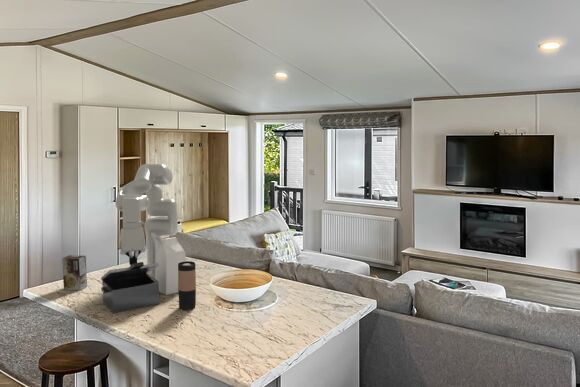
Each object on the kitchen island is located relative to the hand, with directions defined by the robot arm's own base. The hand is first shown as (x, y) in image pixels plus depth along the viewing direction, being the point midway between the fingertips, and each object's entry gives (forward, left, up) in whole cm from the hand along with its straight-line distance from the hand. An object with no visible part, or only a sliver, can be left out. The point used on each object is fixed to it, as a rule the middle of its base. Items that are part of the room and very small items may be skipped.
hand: (133, 265), depth 198 cm
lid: (0, -3, -3) cm, 4 cm away
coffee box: (+17, -42, -19) cm, 49 cm away
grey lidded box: (0, -6, -18) cm, 19 cm away
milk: (-22, -14, -19) cm, 32 cm away
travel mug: (-19, +14, -19) cm, 30 cm away
